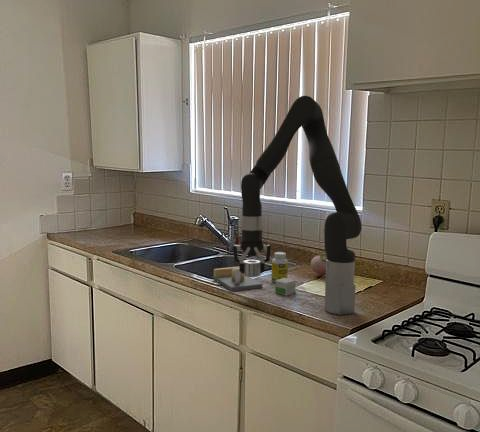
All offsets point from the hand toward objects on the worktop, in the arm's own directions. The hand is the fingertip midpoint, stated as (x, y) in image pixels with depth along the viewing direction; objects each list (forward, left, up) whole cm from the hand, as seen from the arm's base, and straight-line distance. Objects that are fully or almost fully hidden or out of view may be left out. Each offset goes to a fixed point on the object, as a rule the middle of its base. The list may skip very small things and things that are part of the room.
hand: (251, 272), depth 181 cm
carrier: (+15, -1, -8) cm, 17 cm away
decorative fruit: (+12, -39, -8) cm, 41 cm away
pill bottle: (+12, -19, -8) cm, 23 cm away
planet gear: (0, 0, -1) cm, 1 cm away
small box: (-3, -13, -8) cm, 15 cm away
